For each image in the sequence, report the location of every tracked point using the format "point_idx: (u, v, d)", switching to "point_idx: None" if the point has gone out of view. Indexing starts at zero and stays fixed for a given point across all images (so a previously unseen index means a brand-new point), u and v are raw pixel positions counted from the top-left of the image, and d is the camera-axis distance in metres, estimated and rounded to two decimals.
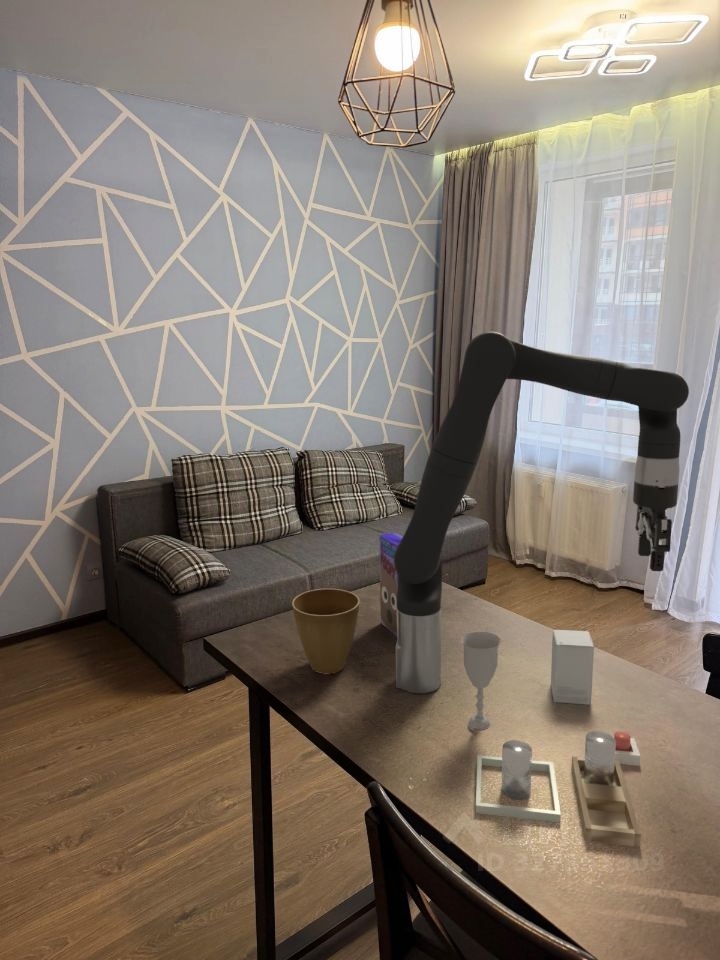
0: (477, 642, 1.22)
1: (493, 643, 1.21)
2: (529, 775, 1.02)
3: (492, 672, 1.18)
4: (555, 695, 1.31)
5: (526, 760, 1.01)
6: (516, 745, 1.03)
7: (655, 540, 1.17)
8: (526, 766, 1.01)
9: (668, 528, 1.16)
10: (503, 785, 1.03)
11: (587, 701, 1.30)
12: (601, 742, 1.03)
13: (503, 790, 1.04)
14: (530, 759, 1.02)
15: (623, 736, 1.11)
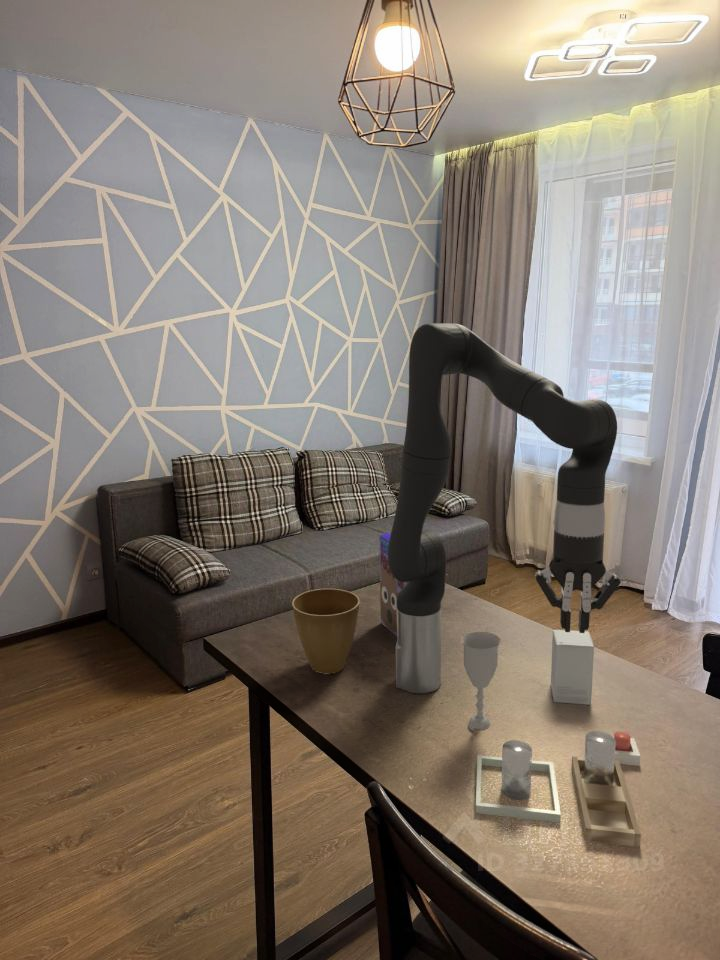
0: (477, 642, 1.22)
1: (493, 643, 1.21)
2: (529, 775, 1.02)
3: (492, 672, 1.18)
4: (555, 695, 1.31)
5: (526, 760, 1.01)
6: (516, 745, 1.03)
7: (604, 598, 1.03)
8: (526, 766, 1.01)
9: None
10: (503, 785, 1.03)
11: (587, 701, 1.30)
12: (601, 742, 1.03)
13: (503, 790, 1.04)
14: (530, 759, 1.02)
15: (623, 736, 1.11)
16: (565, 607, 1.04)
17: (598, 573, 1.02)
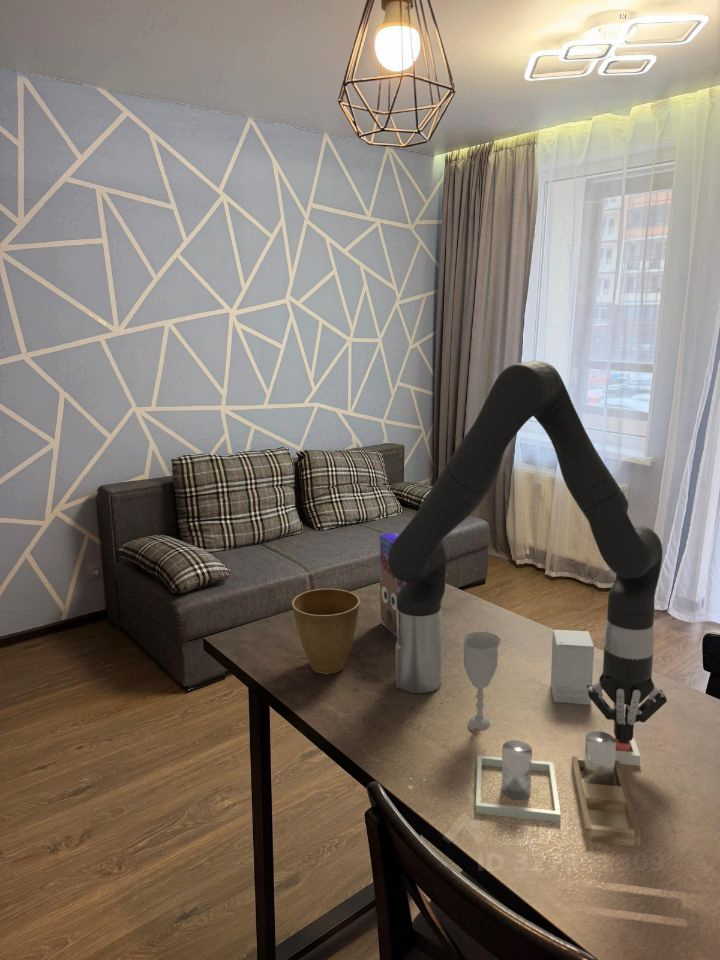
0: (477, 642, 1.22)
1: (493, 643, 1.21)
2: (529, 775, 1.02)
3: (492, 672, 1.18)
4: (555, 695, 1.31)
5: (526, 760, 1.01)
6: (516, 745, 1.03)
7: (648, 713, 1.08)
8: (526, 766, 1.01)
9: None
10: (503, 785, 1.03)
11: (587, 701, 1.30)
12: (601, 742, 1.03)
13: (503, 790, 1.04)
14: (530, 759, 1.02)
15: None
16: (620, 720, 1.10)
17: (647, 689, 1.08)
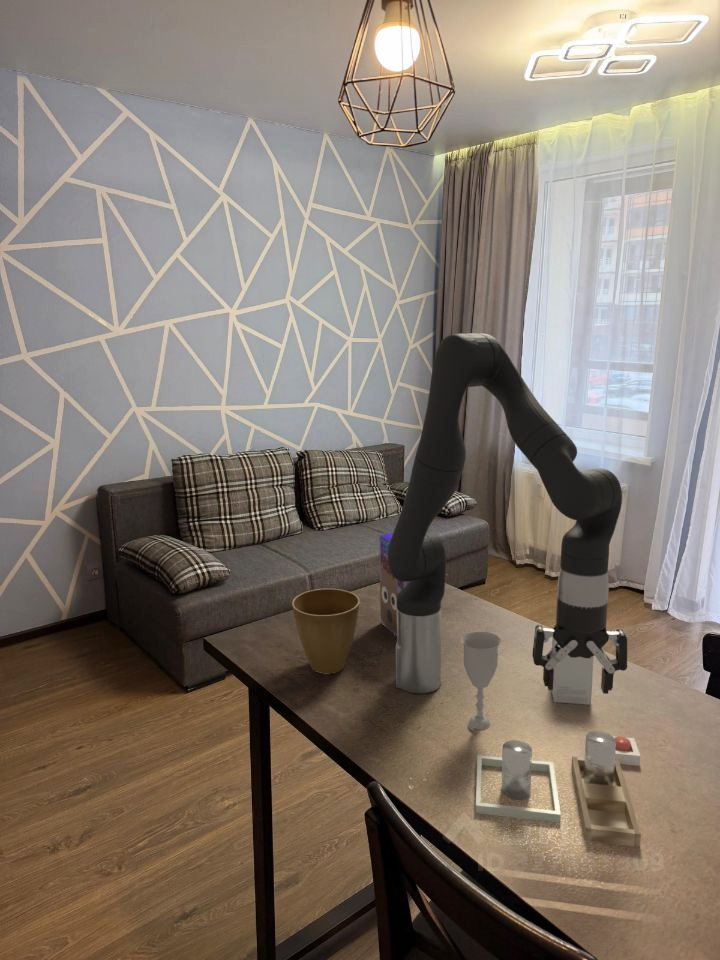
0: (477, 642, 1.22)
1: (493, 643, 1.21)
2: (529, 775, 1.02)
3: (492, 672, 1.18)
4: (555, 695, 1.31)
5: (526, 760, 1.01)
6: (516, 745, 1.03)
7: (623, 658, 1.02)
8: (526, 766, 1.01)
9: None
10: (503, 785, 1.03)
11: (587, 701, 1.30)
12: (601, 742, 1.03)
13: (503, 790, 1.04)
14: (530, 759, 1.02)
15: (623, 741, 1.11)
16: (548, 666, 1.04)
17: (603, 640, 1.02)
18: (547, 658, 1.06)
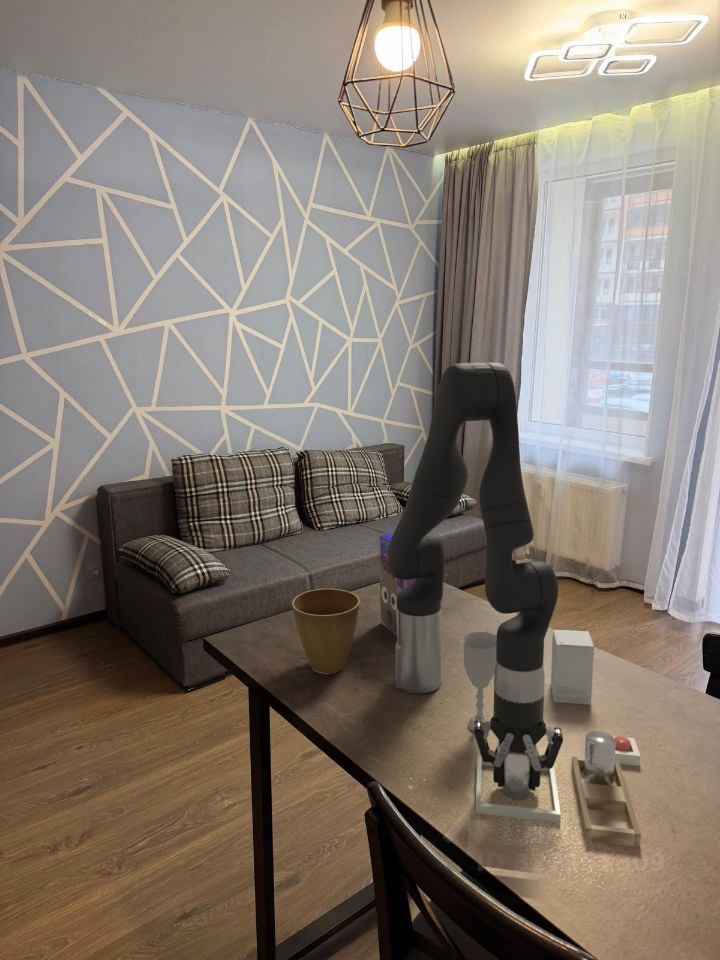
0: (477, 642, 1.22)
1: (493, 643, 1.21)
2: (529, 775, 1.02)
3: (492, 672, 1.18)
4: (555, 695, 1.31)
5: (526, 760, 1.01)
6: None
7: (552, 757, 1.00)
8: (526, 766, 1.01)
9: None
10: (503, 785, 1.03)
11: (587, 701, 1.30)
12: (601, 742, 1.03)
13: (503, 790, 1.04)
14: None
15: (623, 741, 1.11)
16: (497, 763, 1.02)
17: (539, 734, 1.00)
18: (495, 754, 1.04)
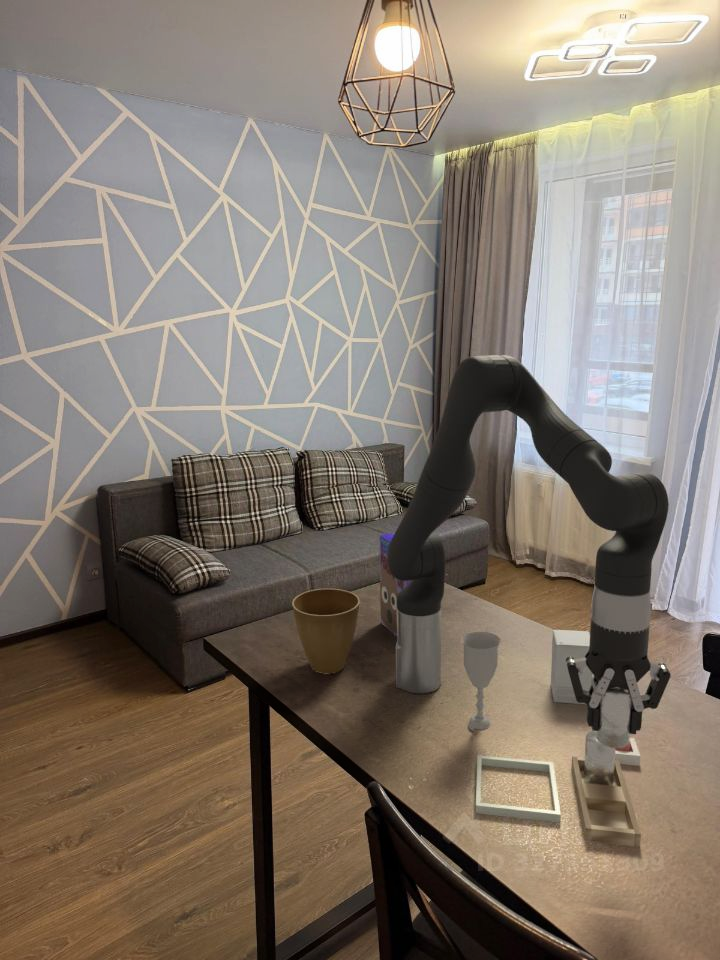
0: (477, 642, 1.22)
1: (493, 643, 1.21)
2: (630, 717, 0.91)
3: (492, 672, 1.18)
4: (555, 695, 1.31)
5: (627, 699, 0.90)
6: None
7: (657, 696, 0.90)
8: (627, 706, 0.90)
9: None
10: (599, 729, 0.92)
11: None
12: None
13: (598, 735, 0.93)
14: (631, 699, 0.91)
15: None
16: (593, 703, 0.92)
17: (643, 669, 0.89)
18: None
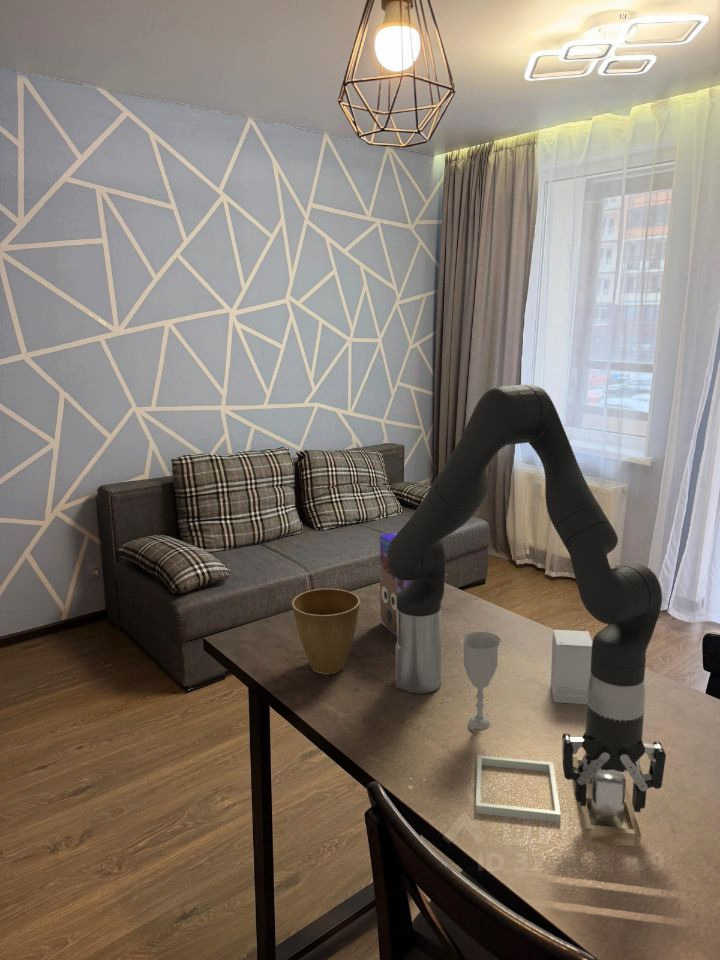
0: (477, 642, 1.22)
1: (493, 643, 1.21)
2: (623, 805, 0.94)
3: (492, 672, 1.18)
4: (555, 695, 1.31)
5: (620, 789, 0.93)
6: (607, 772, 0.96)
7: (658, 776, 0.92)
8: (621, 796, 0.93)
9: None
10: (593, 816, 0.95)
11: None
12: None
13: (593, 821, 0.96)
14: (624, 788, 0.94)
15: None
16: (580, 781, 0.94)
17: (638, 753, 0.92)
18: (579, 771, 0.96)
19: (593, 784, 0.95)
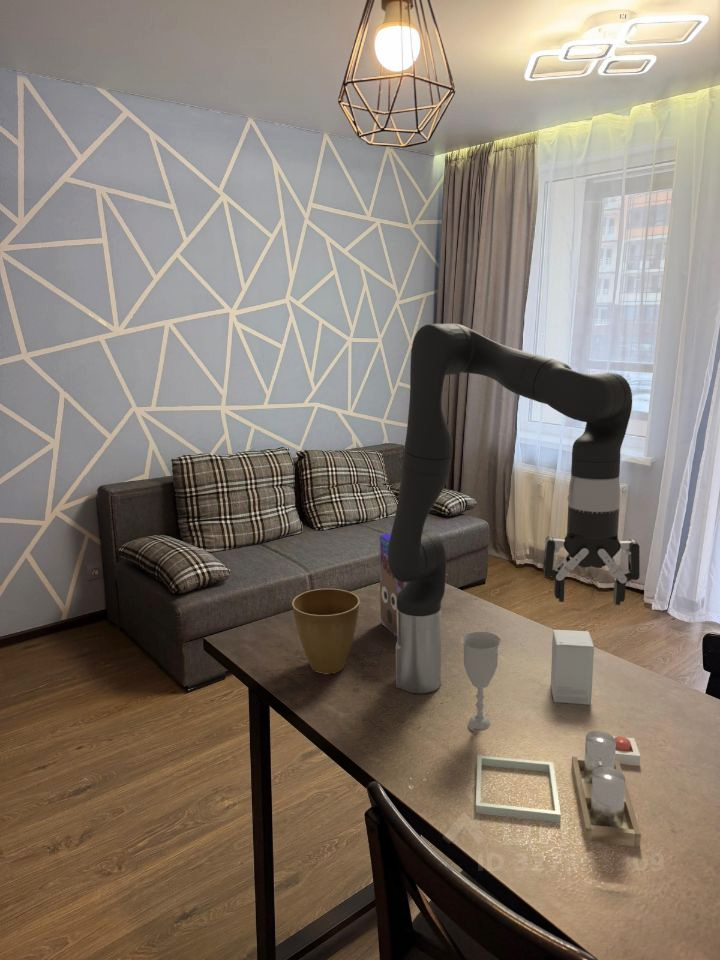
0: (477, 642, 1.22)
1: (493, 643, 1.21)
2: (623, 805, 0.94)
3: (492, 672, 1.18)
4: (555, 695, 1.31)
5: (620, 790, 0.93)
6: (606, 772, 0.95)
7: (635, 567, 1.01)
8: (621, 796, 0.93)
9: None
10: (593, 816, 0.95)
11: (587, 701, 1.30)
12: (601, 742, 1.03)
13: (593, 822, 0.96)
14: (624, 788, 0.94)
15: (623, 741, 1.11)
16: (559, 576, 1.03)
17: (614, 549, 1.01)
18: (558, 569, 1.05)
19: (593, 785, 0.95)
